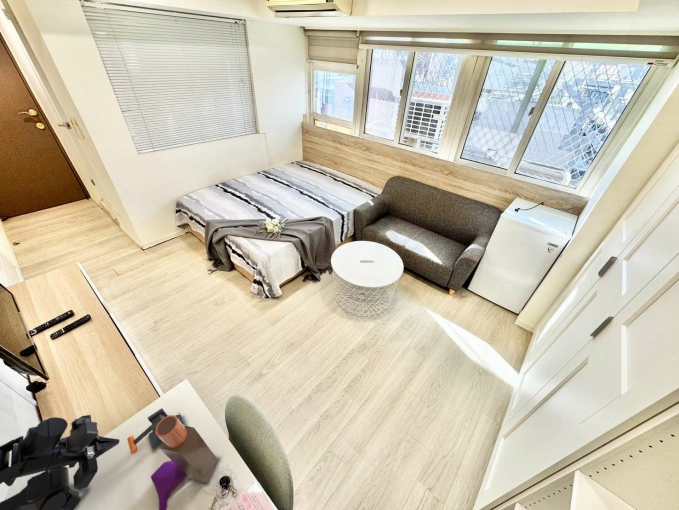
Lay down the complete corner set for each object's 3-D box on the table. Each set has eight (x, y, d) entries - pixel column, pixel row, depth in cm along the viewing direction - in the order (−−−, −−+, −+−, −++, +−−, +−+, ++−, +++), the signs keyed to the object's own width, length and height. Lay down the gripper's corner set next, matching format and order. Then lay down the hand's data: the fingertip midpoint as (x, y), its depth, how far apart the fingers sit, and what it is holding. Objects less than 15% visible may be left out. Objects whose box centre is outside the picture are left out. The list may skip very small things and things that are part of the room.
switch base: (154, 450, 89) (141, 437, 83) (150, 435, 92) (137, 422, 87) (186, 427, 94) (175, 414, 89) (180, 414, 98) (170, 400, 92)
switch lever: (134, 454, 84) (128, 453, 83) (130, 440, 88) (125, 439, 86) (167, 424, 88) (162, 423, 87) (163, 412, 92) (158, 410, 90)
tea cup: (161, 446, 69) (150, 434, 65) (175, 425, 73) (165, 413, 69) (179, 450, 68) (168, 438, 64) (191, 429, 72) (182, 416, 68)
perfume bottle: (178, 465, 78) (152, 552, 69) (192, 461, 85) (169, 540, 76) (154, 462, 79) (125, 548, 70) (170, 458, 85) (145, 536, 76)
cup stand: (190, 478, 82) (158, 448, 69) (201, 456, 87) (174, 423, 73) (207, 483, 82) (179, 453, 68) (218, 460, 86) (194, 427, 72)
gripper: (65, 464, 63) (139, 446, 76) (62, 403, 74) (126, 396, 87) (42, 503, 64) (119, 478, 76) (41, 436, 75) (109, 425, 87)
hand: (118, 441), depth 82 cm, fingers closed
